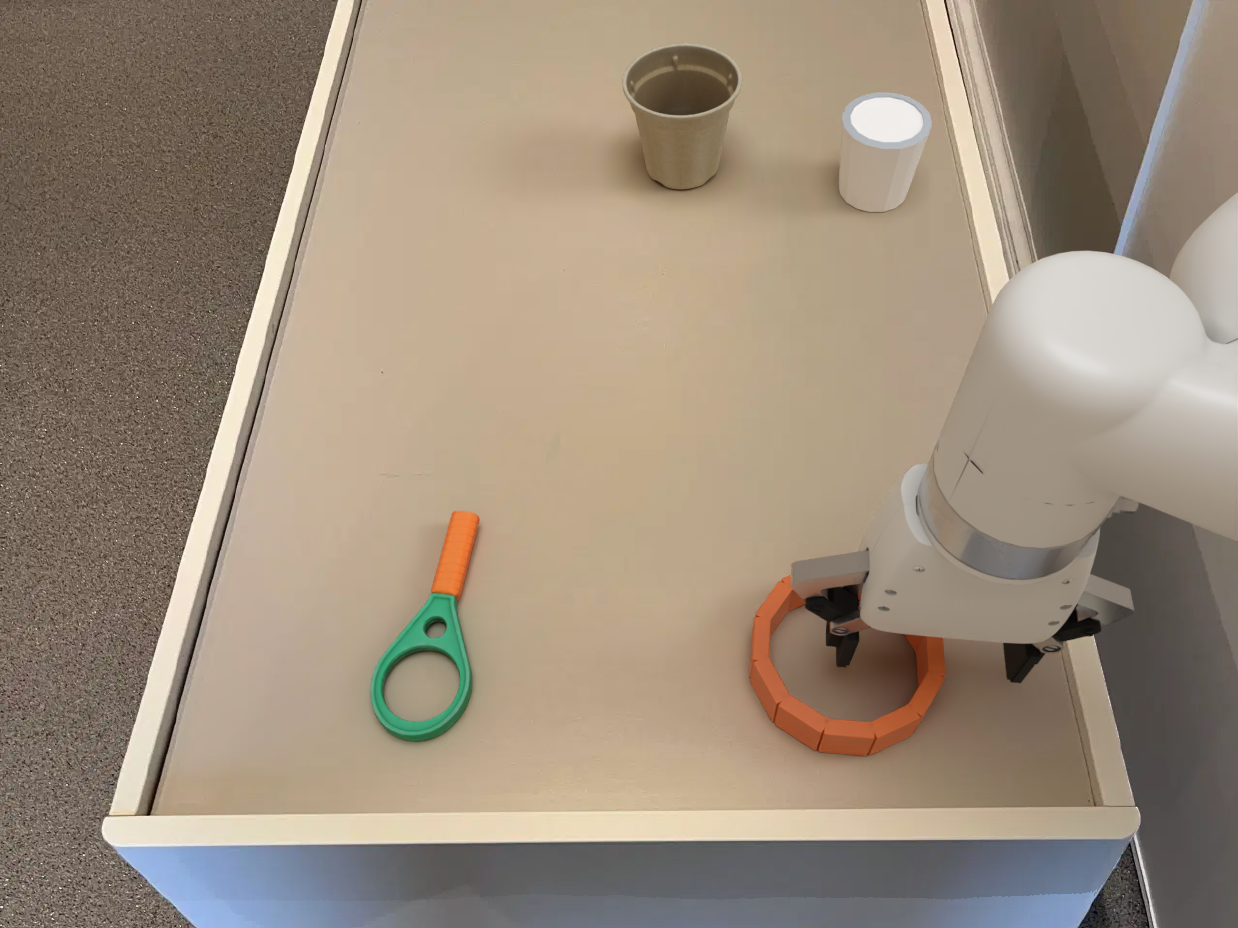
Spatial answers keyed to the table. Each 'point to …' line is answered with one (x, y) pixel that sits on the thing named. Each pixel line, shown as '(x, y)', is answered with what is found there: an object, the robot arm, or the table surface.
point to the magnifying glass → (450, 643)
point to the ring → (813, 724)
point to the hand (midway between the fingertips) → (925, 651)
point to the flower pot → (682, 109)
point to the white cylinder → (881, 149)
